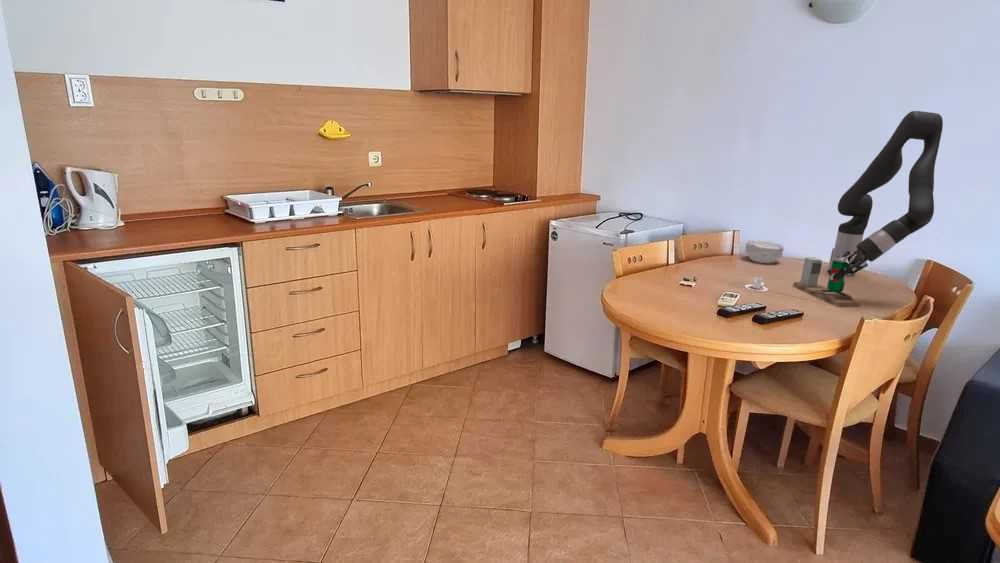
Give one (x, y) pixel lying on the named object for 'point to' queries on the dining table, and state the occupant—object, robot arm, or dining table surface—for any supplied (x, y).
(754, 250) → the paper bowls
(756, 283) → the teacup and saucer
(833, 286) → the soda can
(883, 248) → the robot arm
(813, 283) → the grey post
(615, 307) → the dining table surface
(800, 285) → the brown flat tray
